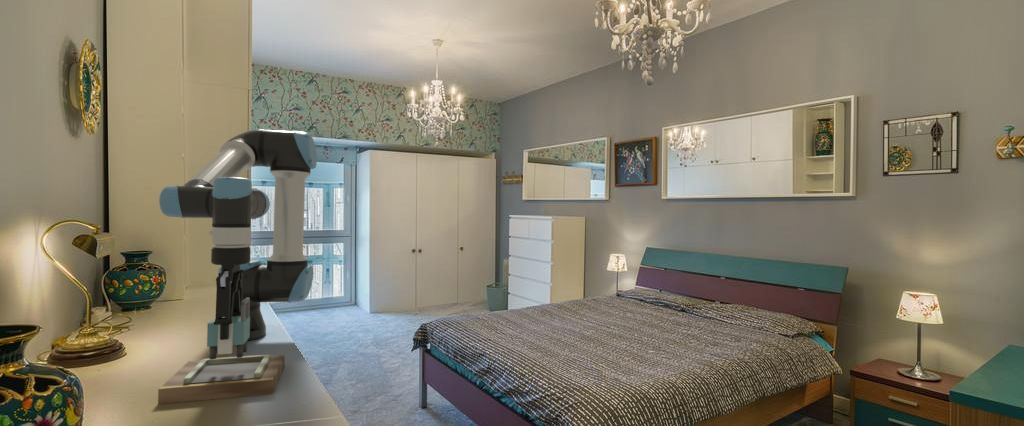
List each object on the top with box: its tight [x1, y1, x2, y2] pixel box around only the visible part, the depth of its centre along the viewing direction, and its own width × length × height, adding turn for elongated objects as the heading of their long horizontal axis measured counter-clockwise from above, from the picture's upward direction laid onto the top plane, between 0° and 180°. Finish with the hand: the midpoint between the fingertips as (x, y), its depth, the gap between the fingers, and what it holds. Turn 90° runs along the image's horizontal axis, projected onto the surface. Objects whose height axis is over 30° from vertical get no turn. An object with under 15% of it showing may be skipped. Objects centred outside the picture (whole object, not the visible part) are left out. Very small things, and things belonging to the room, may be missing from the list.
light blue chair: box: [206, 298, 250, 359], centre depth 106 cm, size 6×7×12 cm
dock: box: [157, 353, 286, 405], centre depth 108 cm, size 18×21×4 cm
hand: (229, 348), depth 106 cm, fingers closed on light blue chair, 6 cm apart
